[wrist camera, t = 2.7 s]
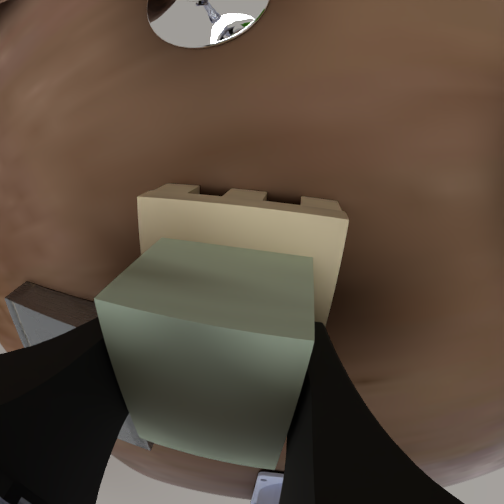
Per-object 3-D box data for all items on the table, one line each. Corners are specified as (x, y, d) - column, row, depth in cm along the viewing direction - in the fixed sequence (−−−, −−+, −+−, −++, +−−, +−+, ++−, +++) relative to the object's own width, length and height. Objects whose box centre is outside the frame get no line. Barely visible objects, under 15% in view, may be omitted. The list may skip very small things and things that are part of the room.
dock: (160, 428, 17) (150, 450, 15) (70, 392, 18) (57, 409, 16) (133, 312, 13) (111, 339, 11) (26, 281, 14) (4, 297, 12)
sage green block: (302, 376, 13) (293, 484, 8) (176, 354, 13) (127, 445, 8) (340, 201, 9) (377, 287, 4) (165, 183, 10) (56, 239, 5)
